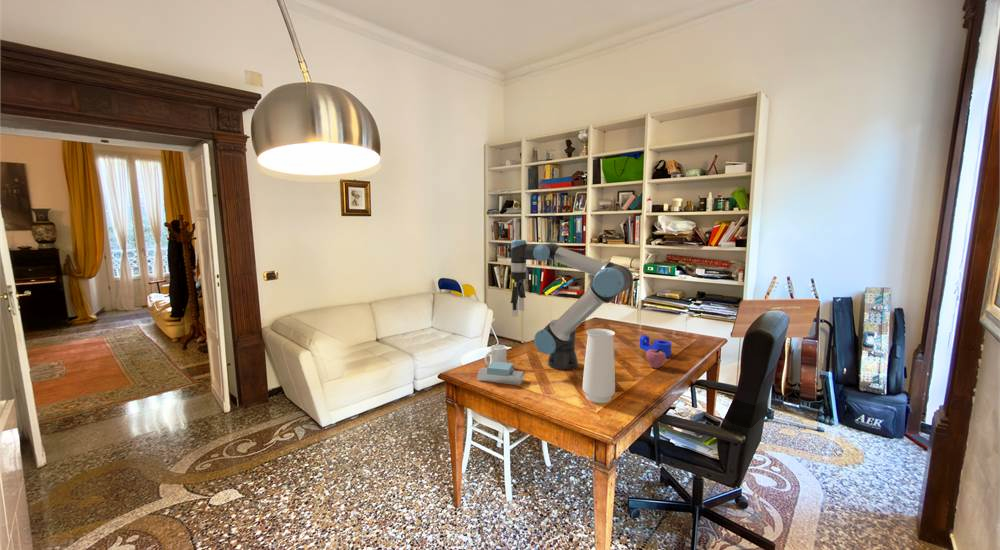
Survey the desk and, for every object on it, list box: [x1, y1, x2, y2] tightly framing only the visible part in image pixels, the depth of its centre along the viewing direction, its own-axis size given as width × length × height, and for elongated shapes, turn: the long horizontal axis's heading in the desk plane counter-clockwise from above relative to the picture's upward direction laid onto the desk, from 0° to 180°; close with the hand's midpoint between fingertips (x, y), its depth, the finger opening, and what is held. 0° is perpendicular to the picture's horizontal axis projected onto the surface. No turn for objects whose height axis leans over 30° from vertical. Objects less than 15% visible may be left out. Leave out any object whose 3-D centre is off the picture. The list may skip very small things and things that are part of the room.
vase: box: [582, 327, 616, 404], centre depth 163 cm, size 13×13×28 cm
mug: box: [484, 344, 507, 367], centre depth 199 cm, size 12×8×10 cm
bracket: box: [638, 334, 672, 358], centre depth 222 cm, size 20×9×8 cm, turn 21°
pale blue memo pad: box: [486, 361, 514, 376], centre depth 183 cm, size 10×9×6 cm
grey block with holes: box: [477, 366, 524, 386], centre depth 183 cm, size 20×6×4 cm, turn 74°
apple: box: [645, 349, 667, 369], centre depth 199 cm, size 10×9×10 cm
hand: (518, 313), depth 200 cm, fingers open, 13 cm apart
